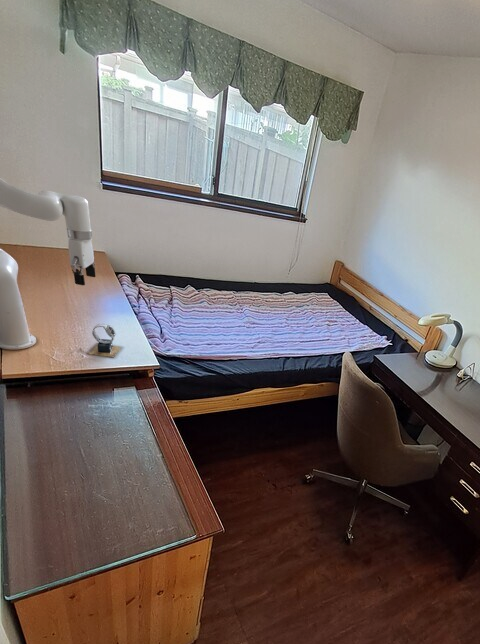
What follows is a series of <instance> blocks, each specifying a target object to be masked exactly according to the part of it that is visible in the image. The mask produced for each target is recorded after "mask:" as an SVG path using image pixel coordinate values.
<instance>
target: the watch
mask: <svg viewBox="0 0 480 644" xmlns="http://www.w3.org/2000/svg"><path fill="white" fill-rule="evenodd" d="M98 328H103V330H105V333H106V334H107V336H109V337H110V338H111V339H106V338H101V337H100V336H99V335H98V333H97V332H96V330H95V329H98ZM91 332H92V333H91V334H92V336H93V339H95V341H96V342H97V343H98V345H97V346H98V352H105V353H110V352H111V349H112V346H113V341H114V340H115V337H116V332H115V330H114V328H113V326H111V325H109V324H107V323H98V324H96V325H94V326H93V328H92V331H91Z"/></svg>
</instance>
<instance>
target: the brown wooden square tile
mask: <svg viewBox="0 0 480 644" xmlns="http://www.w3.org/2000/svg"><path fill="white" fill-rule="evenodd" d="M98 343H99V342H97V343H96V344H94V346H93V347H92V348H91V349H90V350H89V351H88V353H87V355H92V356H98V357H105V358H112V359H114V358H115V357H116V355H117V354H118V353H119V351H120V350H121V349H122V346H118V345H112V349H111V352H110V353H105V352H98V346H97V345H98Z"/></svg>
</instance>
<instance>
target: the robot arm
mask: <svg viewBox="0 0 480 644" xmlns="http://www.w3.org/2000/svg"><path fill="white" fill-rule="evenodd" d="M0 207H2V208H4V209H7V210H10V211H12V212H15V213H17V214H20V215H23V216H27V217H29V218H34V219H38V220H42V221H46V222H55V221H58V220H60V219H61V218H62V216H64V220H65V226H66V234H67V238H68V242H67V243H68V245H67V246H68V258H69V259H68V260H69V266H70V268H71V271H72V274H73V278H74V279H73V280H74V284H75V285H79V286H86V282H85V281H86V280H85V275H86V277H90V278H96V267H95V266H96V264H95V260H96V259H95V252H94V247H93V242H92V241H93V233H92V225H91V217H90V216H91V215H90V207H89V202H88V200H87V199H86V198H85V197H83V196H80V195H75V194H64V193H60V192H57V191H53V190H49V189H48V190H47V189H45V190H44V189H43V190H40V191H39V192H38V193H34V192H31V191H27V190H24V189H22V188H19V187H16V186H14V185H12V184H10V183H9V182H7V181H6V180H4V179H3V178H1V177H0ZM84 269H85V275H84V274H83V273H84ZM18 274H19V265H18V263H17V261H16V259H14V258H13V257H12V256H11V255H10V254H9V253H7V252H6V251H5V250H3V249H2V248H0V349H4V350H10V351H11V350H12V351H13V350H14V351H16V350H24V349H28V348H31V347H32V346H34V345H35V344H36V343H37V337H36V336H35V335H34V334H31V332H30V329H29V325H28V321H27V315H26V313H25V307H24V304H23V299H22V295H21V292H20V289H19V285H18Z"/></svg>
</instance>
